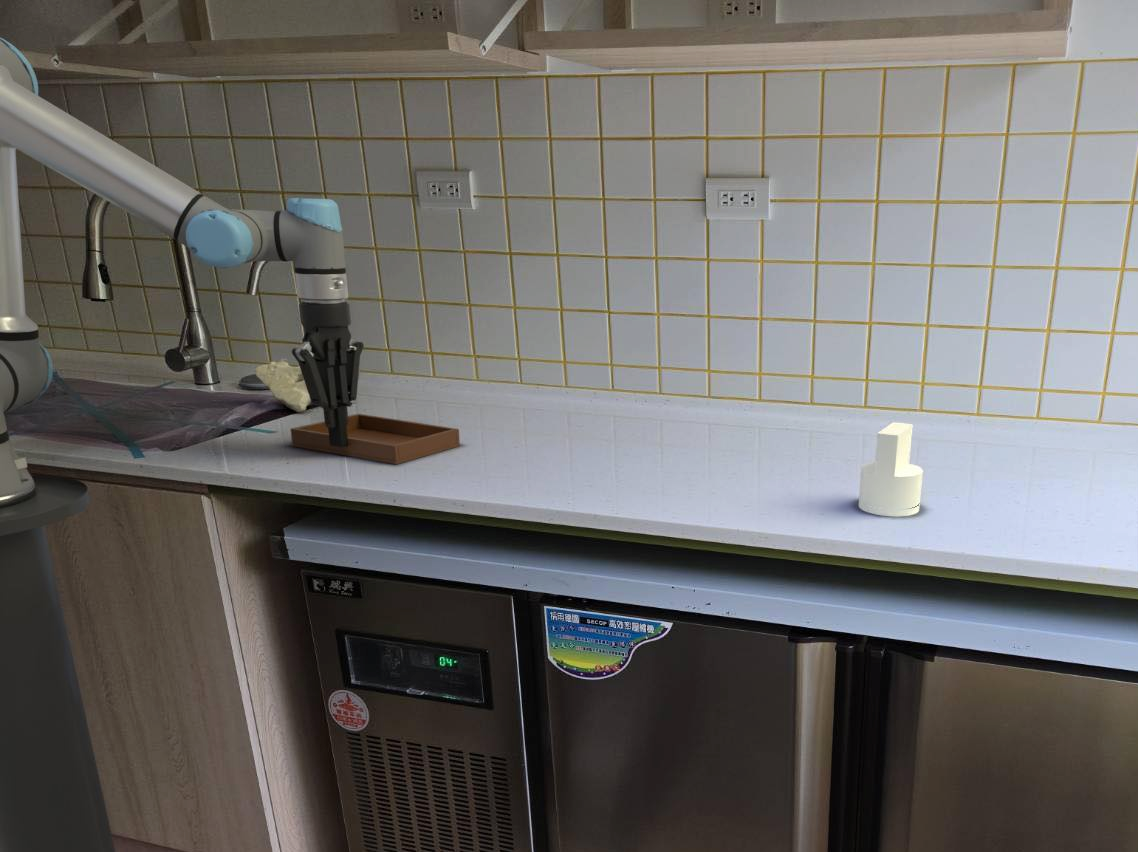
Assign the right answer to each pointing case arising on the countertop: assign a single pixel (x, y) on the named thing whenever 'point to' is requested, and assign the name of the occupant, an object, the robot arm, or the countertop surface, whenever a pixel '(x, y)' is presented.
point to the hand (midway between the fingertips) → (339, 445)
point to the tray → (379, 439)
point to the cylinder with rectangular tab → (891, 475)
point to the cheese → (285, 384)
